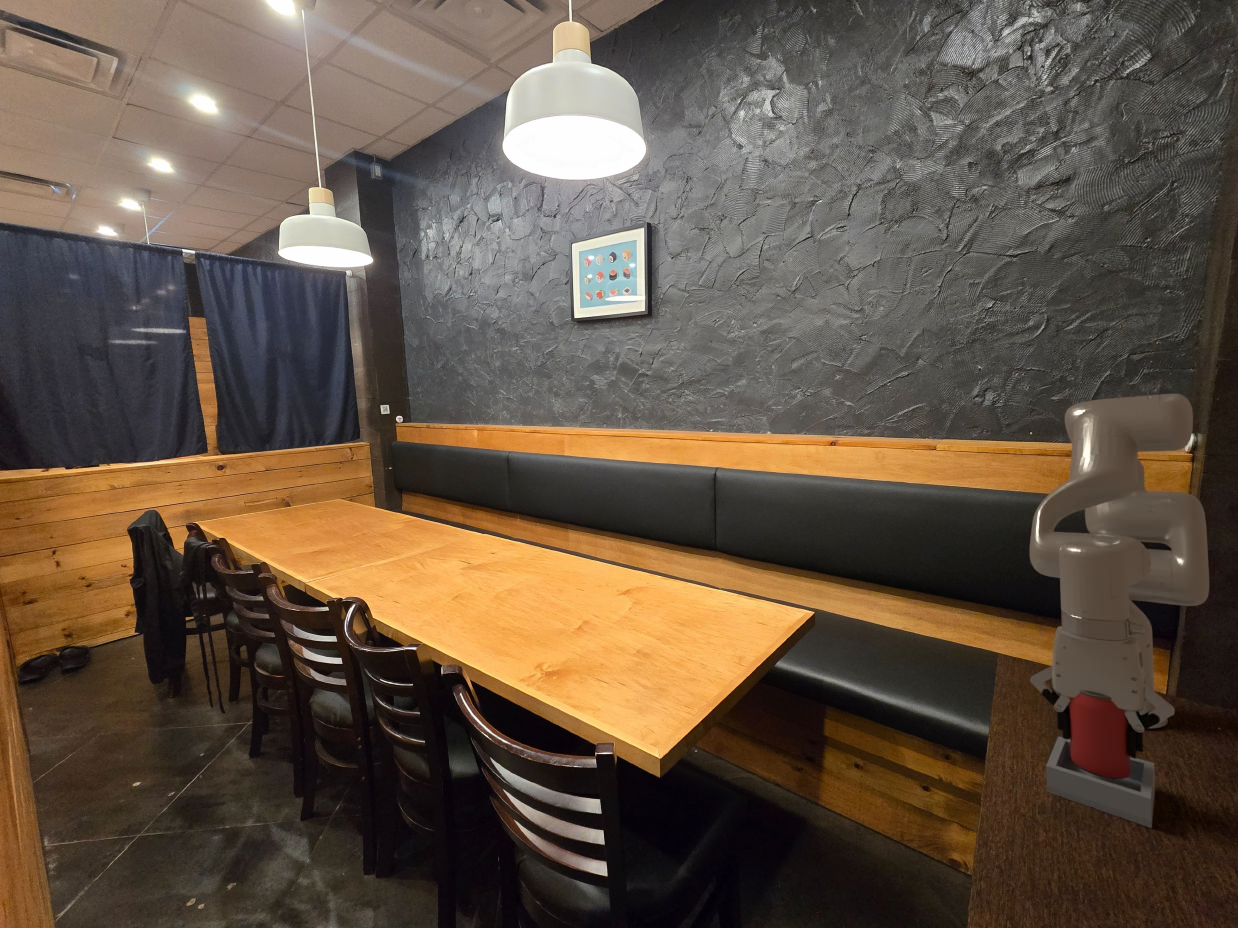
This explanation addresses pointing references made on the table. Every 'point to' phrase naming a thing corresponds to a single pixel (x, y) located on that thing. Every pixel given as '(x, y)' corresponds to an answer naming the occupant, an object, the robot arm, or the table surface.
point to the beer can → (1099, 736)
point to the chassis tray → (1103, 786)
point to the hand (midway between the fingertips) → (1099, 743)
